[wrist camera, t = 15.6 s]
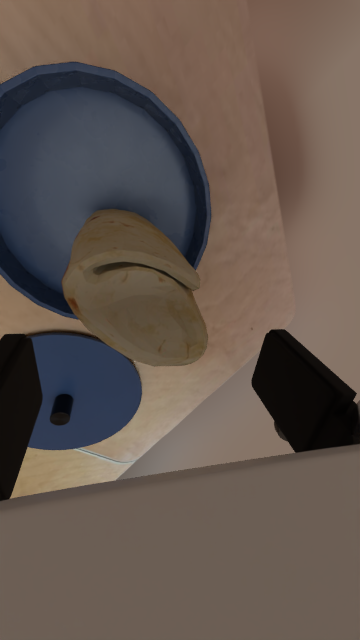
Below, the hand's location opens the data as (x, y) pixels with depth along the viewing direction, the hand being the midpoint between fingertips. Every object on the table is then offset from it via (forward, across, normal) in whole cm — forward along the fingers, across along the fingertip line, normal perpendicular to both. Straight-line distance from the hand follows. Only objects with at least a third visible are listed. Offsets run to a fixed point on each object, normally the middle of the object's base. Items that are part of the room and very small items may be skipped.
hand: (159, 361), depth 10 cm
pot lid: (+22, +10, +23) cm, 34 cm away
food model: (+23, 0, 0) cm, 23 cm away
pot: (+23, +3, -3) cm, 23 cm away
